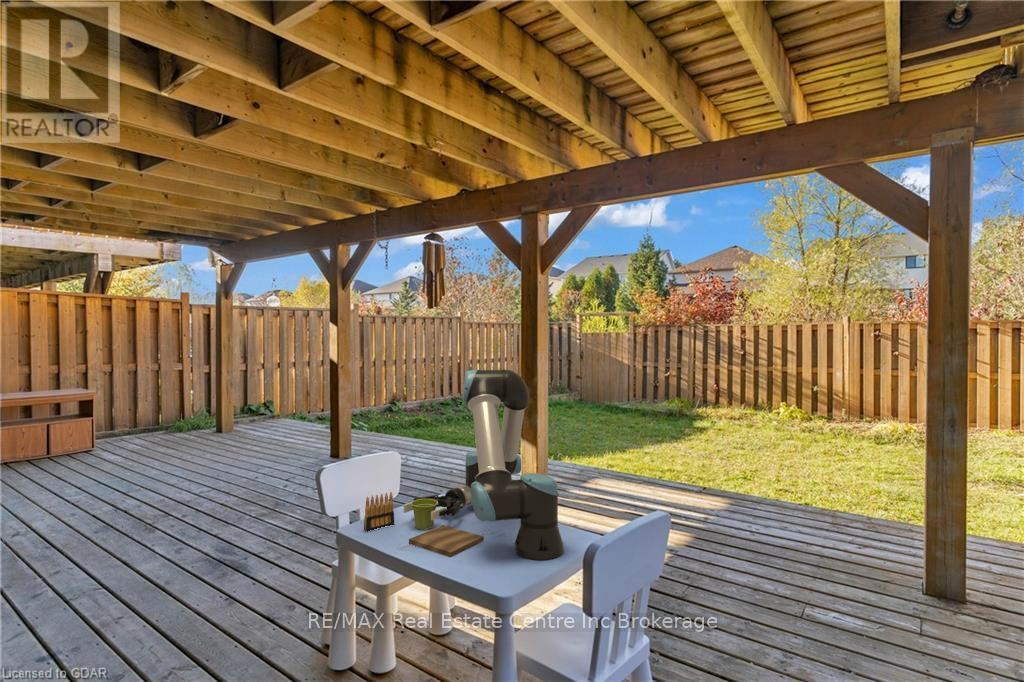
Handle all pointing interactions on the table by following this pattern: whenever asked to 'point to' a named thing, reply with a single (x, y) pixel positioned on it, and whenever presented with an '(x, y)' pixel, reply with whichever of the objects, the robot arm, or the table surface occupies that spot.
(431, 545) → the walnut board
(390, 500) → the ammunition clip
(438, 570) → the table surface
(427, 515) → the plant pot
